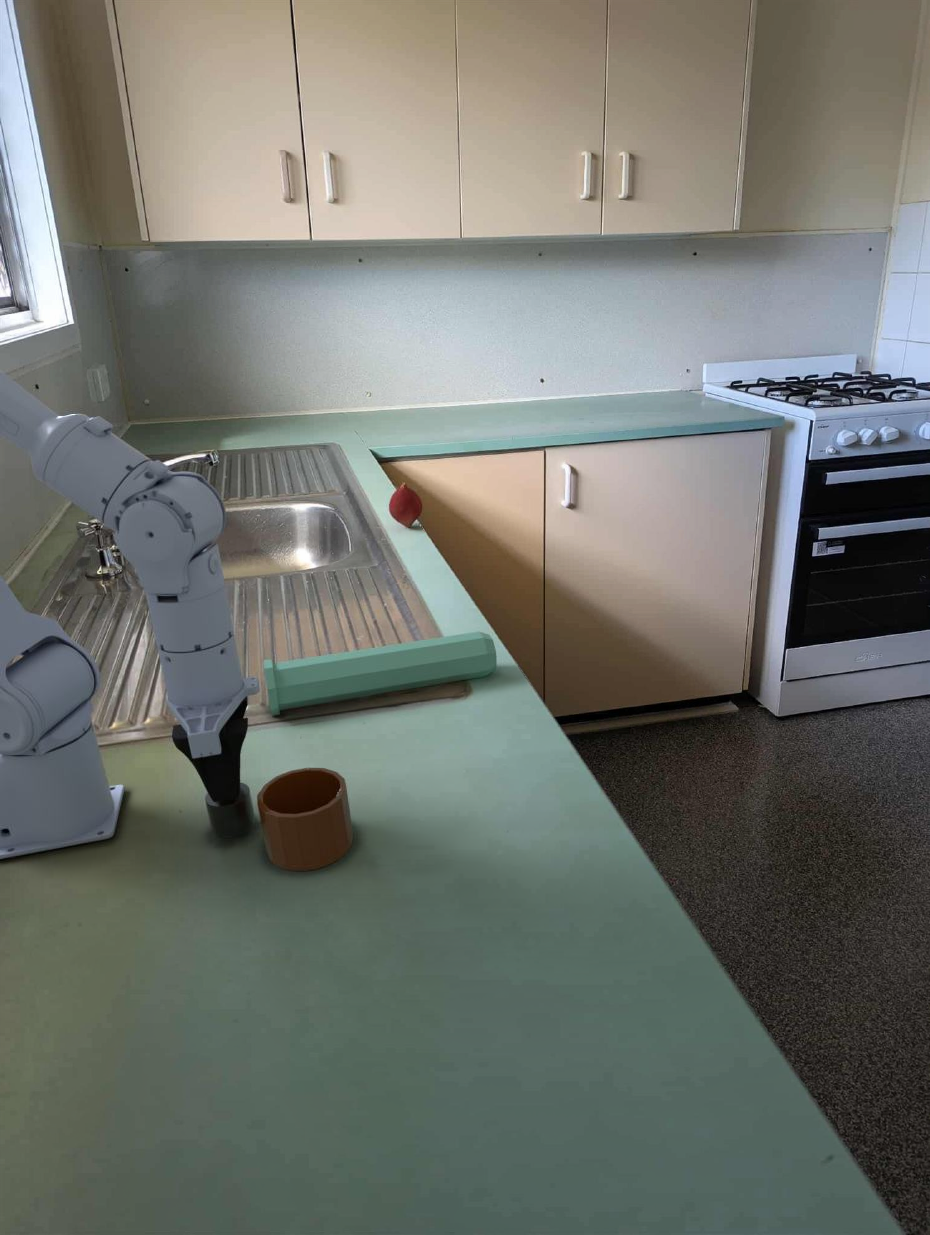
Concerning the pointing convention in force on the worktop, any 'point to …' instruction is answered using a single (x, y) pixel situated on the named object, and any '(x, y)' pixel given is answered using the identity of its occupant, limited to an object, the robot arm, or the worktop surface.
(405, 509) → the onion
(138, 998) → the worktop surface
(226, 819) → the brush
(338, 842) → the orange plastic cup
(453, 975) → the worktop surface
